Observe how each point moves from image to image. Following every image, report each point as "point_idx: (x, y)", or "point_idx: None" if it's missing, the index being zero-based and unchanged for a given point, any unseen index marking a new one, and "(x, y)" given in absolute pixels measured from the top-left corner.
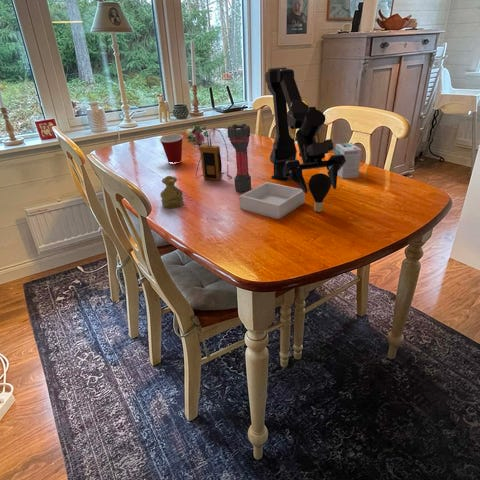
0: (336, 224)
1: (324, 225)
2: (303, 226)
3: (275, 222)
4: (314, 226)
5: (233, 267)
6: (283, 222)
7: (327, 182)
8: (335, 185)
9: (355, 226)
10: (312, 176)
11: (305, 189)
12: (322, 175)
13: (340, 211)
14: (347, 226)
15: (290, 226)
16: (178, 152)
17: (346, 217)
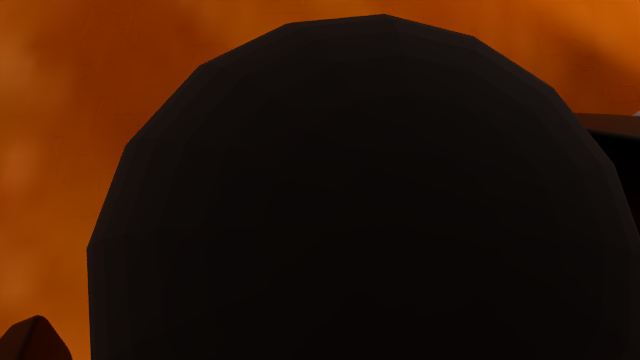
0: (167, 45)
1: (264, 28)
2: (422, 12)
3: (637, 70)
4: (341, 13)
5: None
6: (579, 71)
7: (194, 73)
8: (10, 344)
9: (17, 15)
10: (630, 227)
11: (581, 116)
12: (336, 123)
13: (82, 314)
14: (83, 14)
15: (515, 12)
16: None
17: (52, 176)
